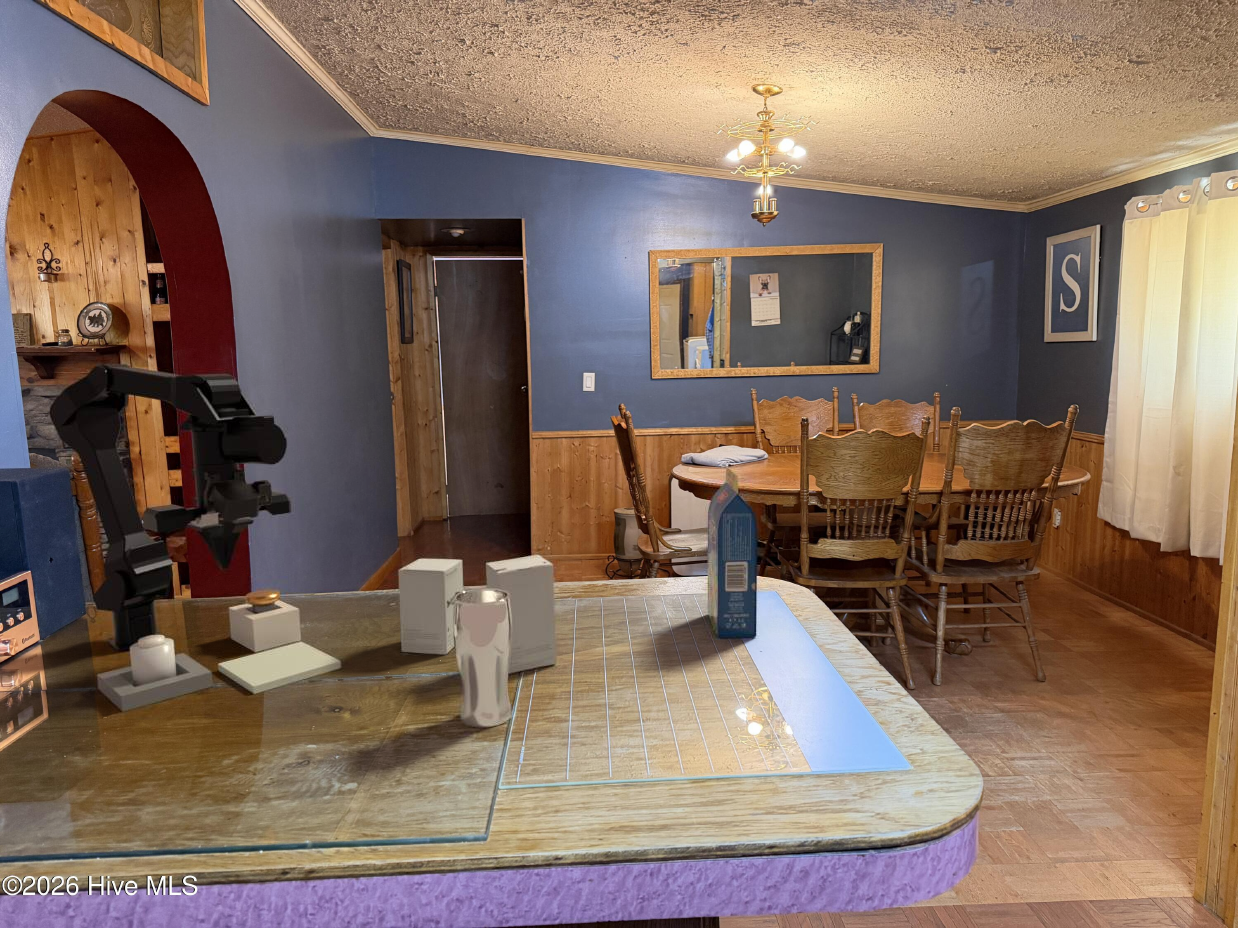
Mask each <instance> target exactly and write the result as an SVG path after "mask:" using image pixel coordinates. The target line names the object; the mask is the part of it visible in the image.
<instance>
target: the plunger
mask: <svg viewBox="0 0 1238 928" xmlns="http://www.w3.org/2000/svg"><path fill="white" fill-rule="evenodd" d="M280 595H281V593H280V590H277V589H260V590H255V591H252V592H248V593H247V594H246V595H245V604H250V605H252V611H253V613H254V614H259V613H263V612H267V611H272V610H275V602H276V601H278V600H280V599H281V596H280Z"/></svg>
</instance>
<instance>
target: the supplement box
mask: <svg viewBox="0 0 1238 928" xmlns="http://www.w3.org/2000/svg"><path fill="white" fill-rule="evenodd" d="M463 569H464V568H463V560H462V559H453V558H452V559H450V558H449V559H448V558H419V559H416V560H414V561H413V562H411V563H409V564H407V565H405V566H403V567H402V568H400V569H398V571H397V572H398V574H397V575H398V593H399V596H398V597H399V616H400V618H399V619H400V622H399V623H400V641H401V645H400V646H401V652H403V653H417V654H427V655H428V654H429V655H431V654H432V655H447V654H448V653H449V652H451V650H452V649H453V648H455V646H454V636H453V611H454V596H455V595H456V594H458V593H460V592H463V591H464V578H463V577H464V575H463Z"/></svg>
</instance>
